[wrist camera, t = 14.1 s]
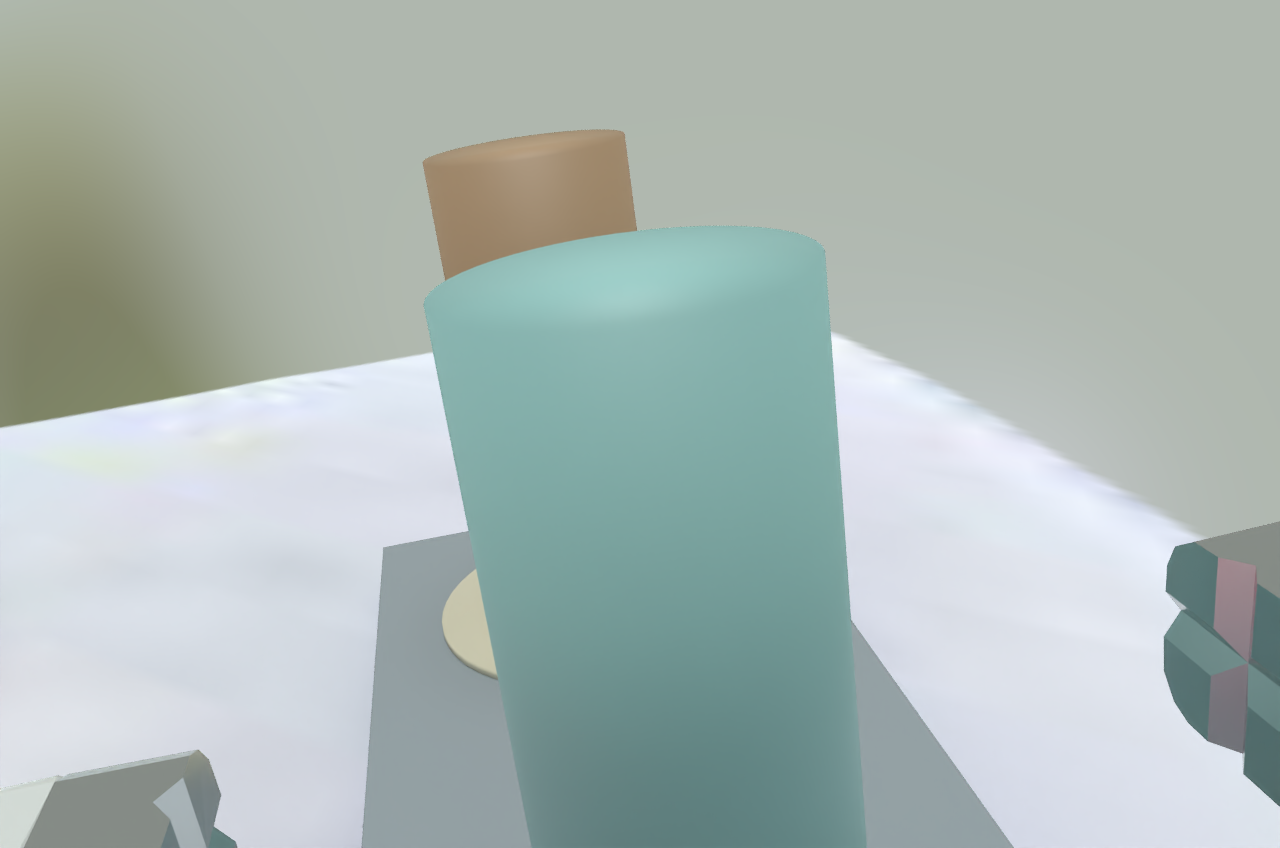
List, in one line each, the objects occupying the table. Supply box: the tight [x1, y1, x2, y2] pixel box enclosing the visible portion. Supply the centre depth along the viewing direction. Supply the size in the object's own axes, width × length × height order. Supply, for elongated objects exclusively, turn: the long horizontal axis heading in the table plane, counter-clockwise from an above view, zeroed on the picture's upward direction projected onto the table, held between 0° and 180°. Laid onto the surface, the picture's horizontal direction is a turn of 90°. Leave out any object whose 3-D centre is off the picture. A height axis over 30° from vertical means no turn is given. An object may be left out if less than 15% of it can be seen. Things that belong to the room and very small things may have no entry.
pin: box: [424, 226, 867, 848], centre depth 13 cm, size 4×4×10 cm
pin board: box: [362, 130, 1014, 848], centre depth 19 cm, size 10×22×11 cm, turn 10°
